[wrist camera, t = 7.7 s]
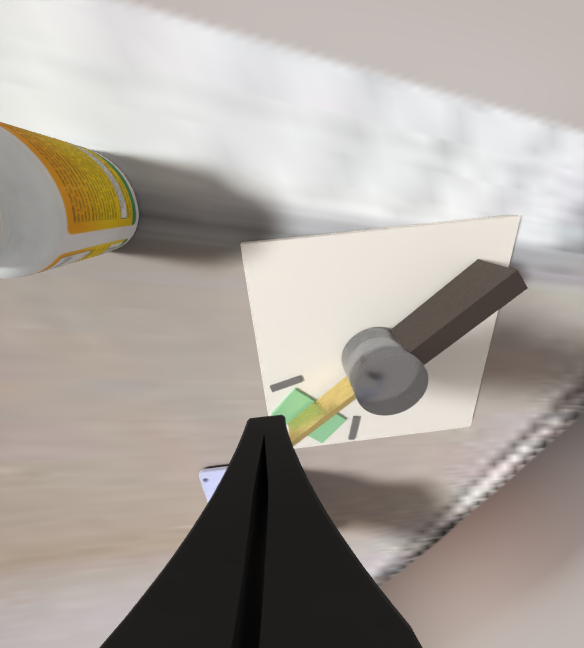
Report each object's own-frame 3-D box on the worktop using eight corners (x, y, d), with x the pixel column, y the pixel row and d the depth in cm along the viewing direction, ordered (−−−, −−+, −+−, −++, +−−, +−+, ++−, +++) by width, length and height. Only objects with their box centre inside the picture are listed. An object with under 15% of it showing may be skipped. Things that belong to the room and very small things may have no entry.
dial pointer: (308, 435, 22) (315, 475, 19) (269, 406, 21) (269, 444, 17) (497, 290, 18) (548, 310, 15) (466, 241, 17) (514, 251, 13)
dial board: (462, 418, 24) (472, 429, 23) (273, 441, 24) (274, 454, 23) (507, 214, 17) (525, 215, 16) (241, 242, 17) (239, 245, 16)
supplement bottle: (121, 267, 17) (-36, 337, 8) (27, 214, 16) (-285, 232, 7) (158, 189, 16) (12, 173, 7) (57, 122, 14) (-299, -11, 5)
